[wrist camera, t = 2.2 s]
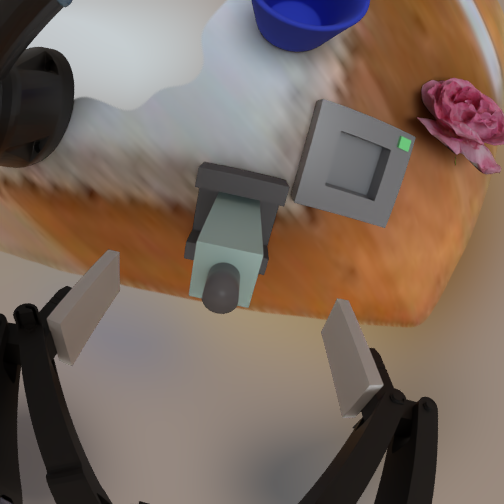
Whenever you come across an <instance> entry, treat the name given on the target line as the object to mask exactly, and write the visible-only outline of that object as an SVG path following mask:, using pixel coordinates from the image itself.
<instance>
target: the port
mask: <svg viewBox="0 0 504 504" xmlns="http://www.w3.org/2000/svg"><path fill="white" fill-rule="evenodd" d="M415 138H416V137H414V136H412V135H410V134H408V133H406V132H404V131H402V130H400V129H398V128H396V127H394V126H391V125H389V124H387V123H385V122H382V121H380V120H378V119H375V118H373V117H371V116H368V115H366V114H363V113H361V112H358V111H356V110H353V109H350V108H348V107H345V106H342V105H339V104H336V103H334V102H331V101H328V100H325V99H322V100H318V101H317V102H316V106H315V110H314V114H313V117H312V121H311V125H310V128H309V132H308V136H307V139H306V143H305V147H304V150H303V154H302V157H301V161H300V165H299V168H298V172H297V175H296V179H295V182H294V186H293V189H292V193H291V197H292V199H293V201H294V203H297V204H301V205H305V206H309V207H313V208H317V209H320V210H324V211H328V212H332V213H335V214H339V215H342V216H346V217H349V218H353V219H356V220H360V221H363V222H367V223H370V224H373V225H377V226H380V227H383V228H385V227H386V224H387V222H388V219H389V217H390V214H391V211H392V209H393V206H394V203H395V200H396V198H397V195H398V192H399V189H400V186H401V183H402V180H403V177H404V174H405V171H406V168H407V165H408V162H409V158H410V155H411V152H412V148H413V145H414V141H415Z"/></svg>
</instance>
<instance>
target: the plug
mask: <svg viewBox="0 0 504 504" xmlns="http://www.w3.org/2000/svg"><path fill="white" fill-rule="evenodd" d="M262 259H263V240H262V226H261V213H260V201H259V200H255V199H250V198H246V197H241V196H237V195H232V194H228V193H223V192H219V193H218V195H217V197H216V199H215V202H214V204H213V206H212V208H211V210H210V213H209V215H208V217H207V219H206V221H205V224H204V226H203V228H202V230H201V233H200V235H199V237H198V240H197V243H196V249H195V256H194V262H193V269H192V276H191V283H190V290H189V296H193V297H198V298H202V301H203V304H204V305H205V307H206V308H208V309H209V310H210V311H212V312H215V313H220V314H225V313H229V312H231V311H233V310H234V309H235V308H236V307H237V306H242V307H247V308H248V307H249V304H250V301H251V297H252V294H253V290H254V287H255V283H256V280H257V276H258V273H259V269H260V266H261V262H262Z"/></svg>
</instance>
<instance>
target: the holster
mask: <svg viewBox="0 0 504 504" xmlns="http://www.w3.org/2000/svg"><path fill="white" fill-rule="evenodd" d="M195 187H198V188H199V194H198V199H197V205H196V211H195V217H194V223H193V229H192V232H191V233H190V235H189V237H188V239H187V241H186V247H185V255H184V258H186V259H190V260H194V256H195V249H196V243H197V240H198V237H199V235H200V233H201V230H202V228H203V226H204V224H205V221H206V219H207V217H208V215H209V213H210V210H211V208H212V206H213V204H214V202H215V199H216V197H217V195H218V193H219V192H223V193H228V194H232V195H237V196H241V197H246V198H250V199H255V200H259V201H260V213H261V226H262V240H263V259H262V262H261V266H260V269H259V273H258V274H262V275H264V273H265V270H266V267H267V263H268V260H269V257H268V247H267V245H268V242H269V238H270V235H271V231H272V228H273V224H274V220H275V217H276V213H277V210H278V206H279V205H280V206H284V205H285V201H286V198H287V194H288V191H289V185H288V183H287V182H286V180H283V179H279V178H275V177H271V176H267V175H263V174H258V173H254V172H250V171H245V170H241V169H236V168H231V167H227V166H222V165H217V164H212V163H207V162H204V163H203V164H202V165H201V166H199V168H198V174H197V179H196V185H195Z"/></svg>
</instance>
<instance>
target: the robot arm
mask: <svg viewBox="0 0 504 504" xmlns="http://www.w3.org/2000/svg"><path fill="white" fill-rule="evenodd" d="M71 2H72V0H0V166H4V167H13V168H21V167H26V166H29V165H31V164H34V163H37V162H39V161H41V160H43V159H44V158H46V157H47V156H48V155H49V154H50V153H51V152H52V151H53V150H54V149H55V147H56V146H57V145H58V143H59V142H60V140H61V138H62V136H63V134H64V132H65V130H66V128H67V125H68V122H69V119H70V116H71V112H72V107H73V101H74V79H73V74H72V70H71V67H70V64H69V62H68V61H67V59H66V58H65V57H64V56H63V54H61V53H60V52H58V51H56V50H54V49H49V48H44V47H33V48H29V49H26V48H27V46H28V45H29V44H30V43H31V42H32V41H33V39H34V38H35V37H36V36H37V35H38V34H39V32H40V31H41V30H42V29H43V28H44V27H45V26H46V25H47V24H48V22H49V21H50V20H51V19H52V18H53V17H54V16H55V15H56V14H57V13H58V12H59V11H60V10H61V9H62V8H63V7H67V6H68V5H70V4H71ZM119 255H120V252H117V251H113V250H109V249H108V250H107V251H106V252H105V253H104V254H103V255H102V257H101V258H100V259H99V260H98V261H97V262H96V263H95V264H94V265H93V266H92V267H91V268H90V269H89V270H88V271H87V272H86V273H85V275H84V276H83V277H82V278H81V279H80V280H79V281H78V282H77V283H76V284H75V286H74V287H73V288H71V287H68V286H66V287H64V288H62V289H60V290H59V291H58V292H57V293H56V294H55V295H54V297H52V298H51V300H50V301H49V302H48V303H47V304H46V305H45V306H44V307H43V308H42V310H41V311H40V312H38V309H37V307H36V306H35V305H33V304H29V303H28V304H22V305H20V306H18V307H17V308H16V309H15V311H14V314H13V316H14V319H15V321H16V324H13V323H8V322H7V319H6V317H5V316H4V315H3V314H0V504H22V489H21V482H20V472H19V463H18V448H17V407H18V391H19V379H20V371H21V367H22V375H23V381H24V388H25V393H26V398H27V403H28V407H29V413H30V417H31V421H32V425H33V429H34V432H35V435H36V439H37V443H38V446H39V449H40V452H41V455H42V458H43V461H44V464H45V466H46V470H47V475H46V479H47V483H48V486H49V488H50V490H51V493H52V495H53V497H54V500H55V502H56V504H112V502H111V501H110V499H109V498H108V496H107V494H106V492H105V491H104V490H103V488H102V487H101V485H100V483H99V481H98V480H97V477H96V476H95V474H94V472H93V469H92V467H91V465H90V463H89V461H88V459H87V457H86V455H85V452H84V450H83V448H82V445H81V443H80V441H79V438H78V435H77V433H76V430H75V427H74V425H73V422H72V419H71V416H70V413H69V411H68V408H67V404H66V401H65V398H64V395H63V391H62V388H61V385H60V381H59V377H58V373H57V369H56V365H55V361H54V357H55V355H56V354H58V357H59V360H60V361H62V362H64V363H66V364H68V365H71V366H73V364H74V362H75V361H76V359H77V357H78V356H79V354H80V352H81V351H82V349H83V347H84V346H85V344H86V342H87V341H88V339H89V337H90V336H91V334H92V333H93V331H94V329H95V328H96V326H97V325H98V323H99V321H100V320H101V318H102V317H103V315H104V314H105V312H106V311H107V309H108V308H109V306H110V305H111V303H112V301H113V300H114V299H115V297H116V296H117V294H118V293H119V291H120V267H119ZM321 334H322V337H323V341H324V345H325V349H326V353H327V357H328V360H329V364H330V368H331V372H332V376H333V381H334V385H335V389H336V393H337V397H338V402H339V406H340V410H341V415H342V418H353V417H356V416H357V415H358V414H359V413H360V412H362V416H363V417H362V419H360V420H359V421H358V423H357V424H356V425H355V426H354V427H353V428H355V429H354V430H353V432H352V433H351V435H350V436H349V438H348V439H347V441H346V442H345V444H344V445H343V447H342V448H341V450H340V451H339V453H338V454H337V455H336V457H335V458H334V460H333V461H332V463H331V464H330V465H329V466H328V468H327V469H326V471H325V472H324V473H323V474H322V476H321V477H320V478H319V479H318V481H317V482H316V483H315V485H314V486H313V487H312V488H311V489H310V491H309V492H308V493H307V494H306V495H305V496H304V498H303V499H302V500H301V501H300V502H299V503H298V504H356V503H357V501H358V499H359V498H360V497H361V495H362V493H363V492H364V490H365V488H366V487H367V485H368V483H369V481H370V480H371V478H372V476H373V474H374V473H375V471H376V469H377V467H378V465H379V464H380V462H381V460H382V458H383V455H384V454H385V452H386V450H387V453H386V458H385V463H384V468H383V472H382V476H381V481H380V484H379V488H378V492H377V495H376V499H375V502H374V504H432V498H433V491H434V483H435V474H436V461H437V443H438V408H437V405H436V403H435V402H434V401H433V400H432V399H431V398H429V397H422V398H421V399H420V400H419V401H418V402H414V401H410V400H406V397H405V395H404V394H403V393H402V392H401V391H400V390H398V389H395V388H394V387H393V385H392V382H391V380H390V377H389V375H388V373H387V370H386V369H385V365H384V364H383V361H382V358H381V356H380V355H379V353H378V352H377V351H376V350H375V349H374V348H369V347H368V345H367V342H366V340H365V337H364V335H363V333H362V330H361V328H360V326H359V323H358V321H357V319H356V317H355V314H354V312H353V310H352V308H351V305H350V303H349V301H348V300H343V299H338V298H337V300H336V302H335V304H334V307H333V309H332V311H331V313H330V315H329V317H328V319H327V321H326V323H325V325H324V327H323V329H322V331H321ZM139 504H148V503H144V502H141V501H140V502H139Z"/></svg>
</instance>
